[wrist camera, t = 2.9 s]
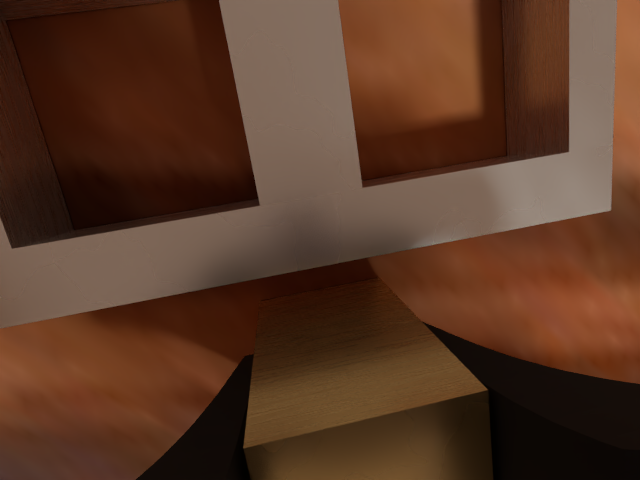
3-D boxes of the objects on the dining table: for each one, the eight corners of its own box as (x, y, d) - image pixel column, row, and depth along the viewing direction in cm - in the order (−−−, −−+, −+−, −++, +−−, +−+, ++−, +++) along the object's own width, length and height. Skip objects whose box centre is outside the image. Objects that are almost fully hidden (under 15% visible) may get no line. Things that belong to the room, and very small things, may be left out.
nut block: (392, 381, 12) (498, 573, 6) (282, 406, 12) (289, 634, 6) (378, 277, 11) (487, 390, 6) (260, 301, 11) (243, 448, 5)
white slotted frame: (543, 202, 12) (610, 210, 9) (-258, 352, 9) (-434, 412, 7) (538, -112, 10) (622, -203, 7) (-477, -17, 7) (-823, -103, 5)
